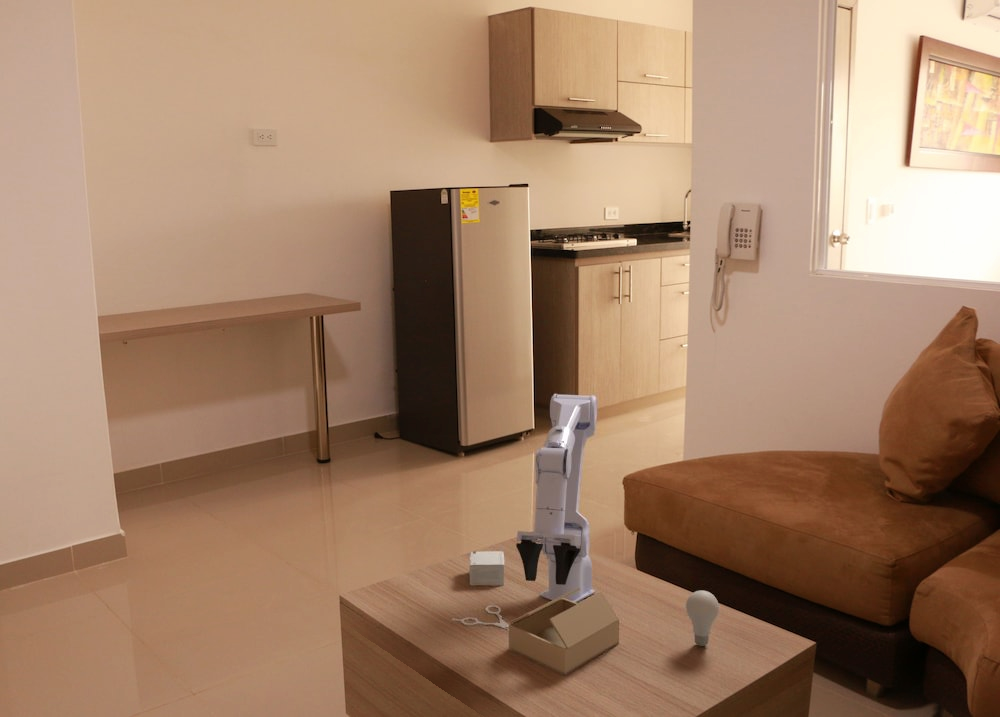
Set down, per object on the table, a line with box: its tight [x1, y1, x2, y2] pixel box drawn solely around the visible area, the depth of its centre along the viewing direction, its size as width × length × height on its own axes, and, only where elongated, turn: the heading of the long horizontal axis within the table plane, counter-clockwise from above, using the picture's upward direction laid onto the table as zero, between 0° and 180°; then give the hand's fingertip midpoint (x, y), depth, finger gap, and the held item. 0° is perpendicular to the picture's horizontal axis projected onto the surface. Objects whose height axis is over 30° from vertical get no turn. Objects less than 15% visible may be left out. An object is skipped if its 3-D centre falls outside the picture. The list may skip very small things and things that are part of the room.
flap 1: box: [509, 588, 580, 625], centre depth 174 cm, size 15×6×1 cm
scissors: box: [451, 605, 510, 632], centre depth 180 cm, size 11×1×20 cm
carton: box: [508, 598, 620, 677], centre depth 171 cm, size 16×14×5 cm
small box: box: [469, 550, 505, 586], centre depth 202 cm, size 8×8×5 cm
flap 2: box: [549, 591, 620, 649], centre depth 167 cm, size 15×6×1 cm
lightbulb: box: [685, 589, 720, 648], centre depth 170 cm, size 6×6×11 cm
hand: (545, 582), depth 170 cm, fingers open, 7 cm apart
